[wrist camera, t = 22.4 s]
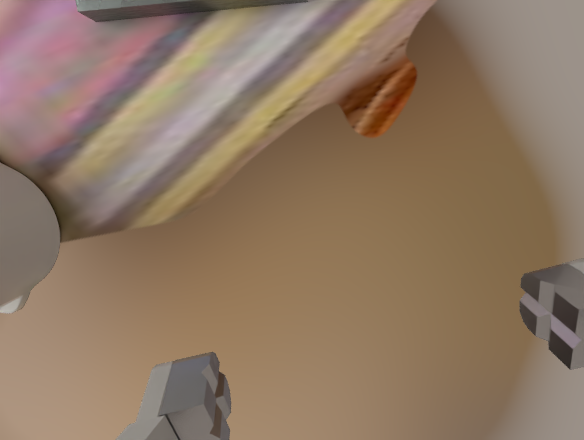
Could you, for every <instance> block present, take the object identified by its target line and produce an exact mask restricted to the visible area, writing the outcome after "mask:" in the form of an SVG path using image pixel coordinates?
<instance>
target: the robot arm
mask: <svg viewBox="0 0 584 440" xmlns="http://www.w3.org/2000/svg"><path fill="white" fill-rule="evenodd" d="M59 248H60V230H59V225H58V221H57V218H56V215H55V213H54V210H53V208H52V206H51V204H50V203H49V201H48V200H47V198H46V197H45V195H44V194H43V193H42V192H41V190H40V189H39V188H38V187H37V186H36V185H35V184H34V183H33V182H32V181H30V180H29V179H28V178H27V177H25V176H24V175H22V174H21V173H19V172H17V171H16V170H14V169H12V168H10V167H8V166H6V165H4V164H2V163H0V313H14V312H16V311H18V310H20V309H21V308H23V306H24V305H25V303H26V301H27V299H28V297H29V294H30V291H31V290H32V288H33V287H34V286H35V285H36V284H38V283H39V282H40V281H41V280H42V279H43V278H45V277H46V276H47V274H48V273H49V272H50V270H51V269H52V268H53V266H54V264H55V262H56V259H57V256H58V253H59ZM521 288H522V289H523V290H524V291H525V292H526V293H525V294H524V296H523V297H522V298H521V300H520V313H521V316H522V319H523V322H524V323H525V325H526V326H527V328H528V329H529V330H530V331H531V332H532V333H533V334H534V335H535V336H536V337H539V338H542V339H544V340H546V341H548V344H549V350H550V351H551V352H552V353H553V354H554V355H555V356H556V357H557V358H558V359H560V360H561V361H562V362H563V363H564V364H565V365H566V366H567V367H568V368H569V369H570V370H572V369H576V368H581V367H584V258H581V259H577V260H573V261H570V262H566V263H563V264H560V265H556V266H552V267H548V268H544V269H540V270H536V271H533V272H529V273H525V274H524V275H523V277H522V278H521ZM230 413H231V398H230V390H229V386H228V382H227V379H226V377H225V375H224V374H222V373H221V372H219V361H218V358H217V356H216V354H215V353H214V352H209V353H205V354H201V355H196V356H192V357H187V358H183V359H179V360H175V361H172V362H167V363H162V364H158V365H156V366H155V367H154V368H153V369H152V371H151V374H150V378H149V381H148V384H147V387H146V390H145V393H144V397H143V400H142V403H141V406H140V410H139V413H138V416H137V419H136V422H135V423H133V424H129V425H128V426H127V428H126V429H125V430H124V431H123V432H122V433H121V434H120V435H119V436H118V438H117V439H116V440H229V436H230V429H229V427H228V424H227V422H226V419H227V418H228V416H229V415H230Z"/></svg>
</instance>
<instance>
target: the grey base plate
mask: <svg viewBox="0 0 584 440" xmlns="http://www.w3.org/2000/svg"><path fill="white" fill-rule="evenodd" d="M300 2H308V0H76V5H77V10H78V12H80V13H81V14H83V15H85V16H87V17H88V18H90V19H92V20H94V21H95V22H99V21H110V20H121V19H131V18H142V17H152V16H163V15H173V14H184V13H194V12H205V11H215V10H226V9H237V8H247V7H258V6H268V5H279V4H289V3H300Z"/></svg>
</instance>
